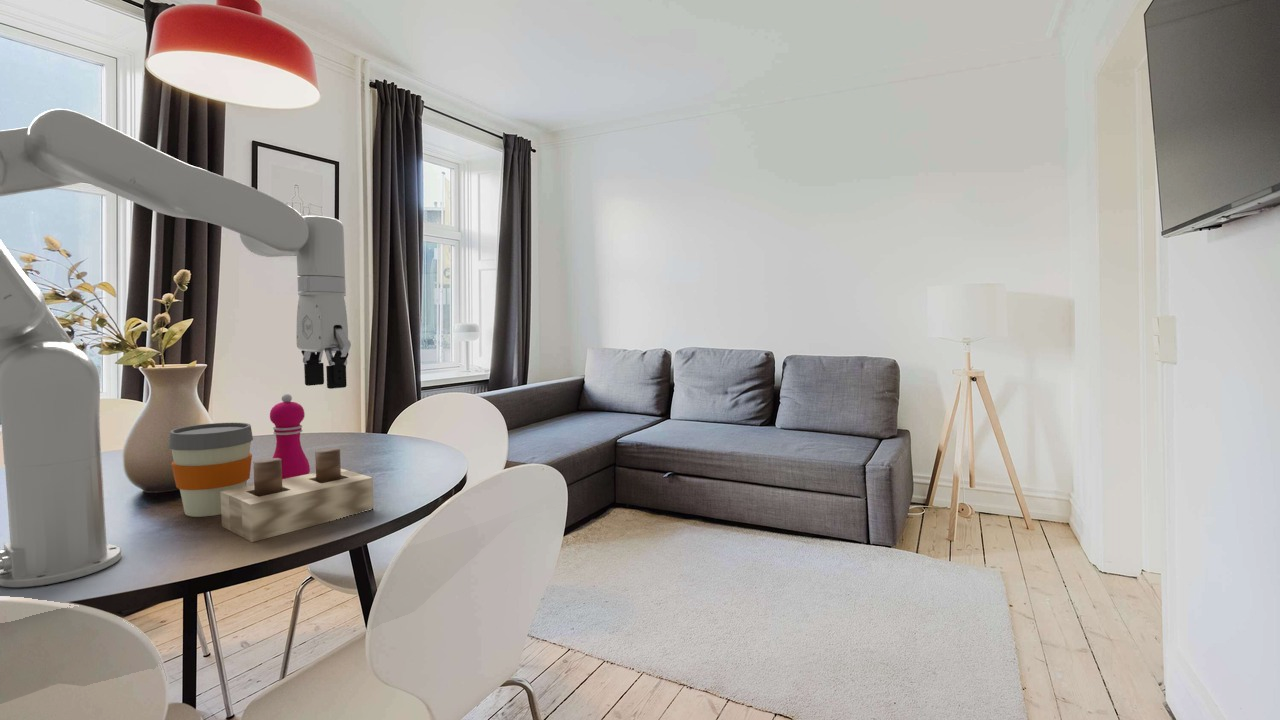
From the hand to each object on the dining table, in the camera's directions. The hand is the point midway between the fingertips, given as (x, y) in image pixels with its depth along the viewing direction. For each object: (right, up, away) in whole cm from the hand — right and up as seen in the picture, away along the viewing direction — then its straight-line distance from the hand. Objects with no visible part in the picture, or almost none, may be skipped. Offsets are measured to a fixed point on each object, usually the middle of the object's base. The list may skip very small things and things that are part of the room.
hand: (325, 385), depth 107 cm
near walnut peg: (-6, -18, -7) cm, 21 cm away
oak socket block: (-3, -23, -3) cm, 23 cm away
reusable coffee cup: (-22, -23, +2) cm, 32 cm away
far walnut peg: (0, -18, +1) cm, 18 cm away
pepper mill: (-14, -22, +13) cm, 29 cm away
